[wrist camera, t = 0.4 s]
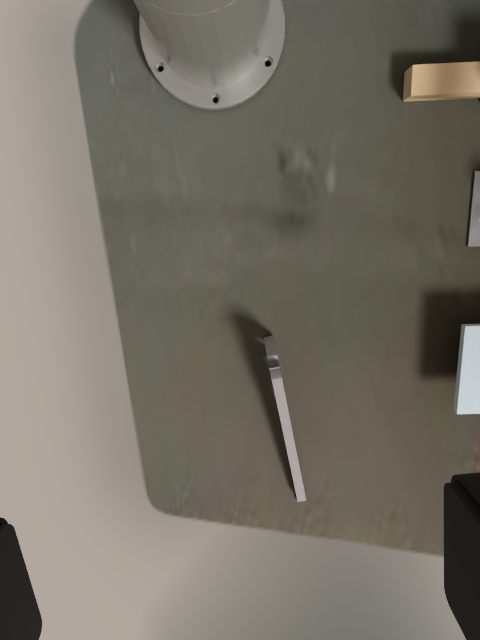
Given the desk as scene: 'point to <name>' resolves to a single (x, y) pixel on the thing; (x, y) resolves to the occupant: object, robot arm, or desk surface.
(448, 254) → the desk surface
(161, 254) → the desk surface
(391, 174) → the desk surface
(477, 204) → the pintle
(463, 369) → the plate
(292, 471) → the caliper
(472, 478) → the robot arm
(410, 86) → the link
